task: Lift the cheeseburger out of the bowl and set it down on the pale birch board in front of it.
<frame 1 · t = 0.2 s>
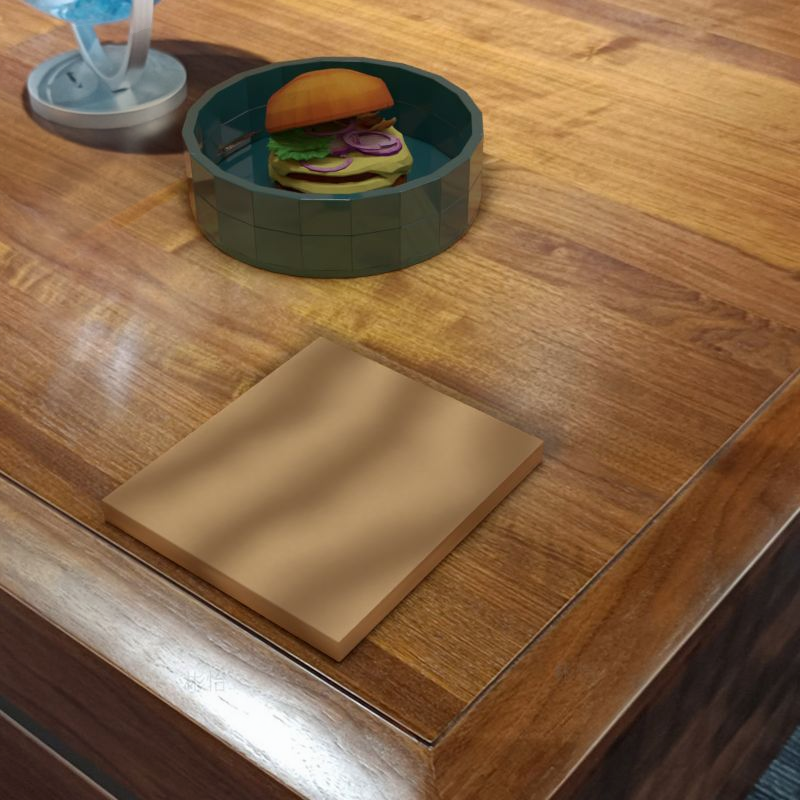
board: (329, 489, 74), on the table
bowl: (336, 197, 97), on the table
cheeseburger: (336, 192, 97), resting on bowl
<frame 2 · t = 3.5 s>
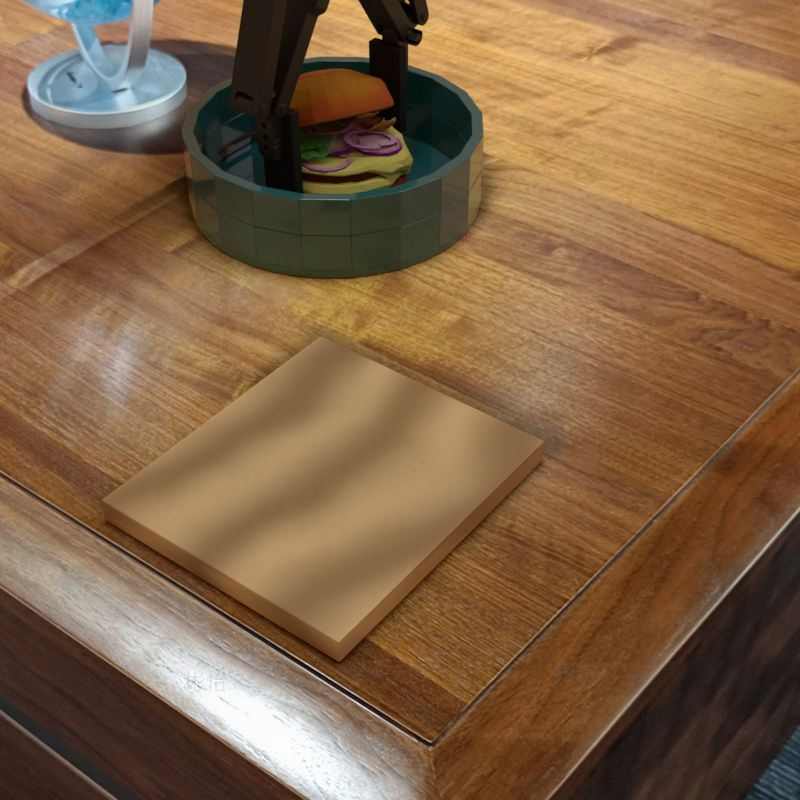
hand: (338, 159, 95), 3 cm above the table, tool pointing down, fingers closed on cheeseburger, 11 cm apart
cheeseburger: (336, 192, 97), resting on bowl, touching gripper
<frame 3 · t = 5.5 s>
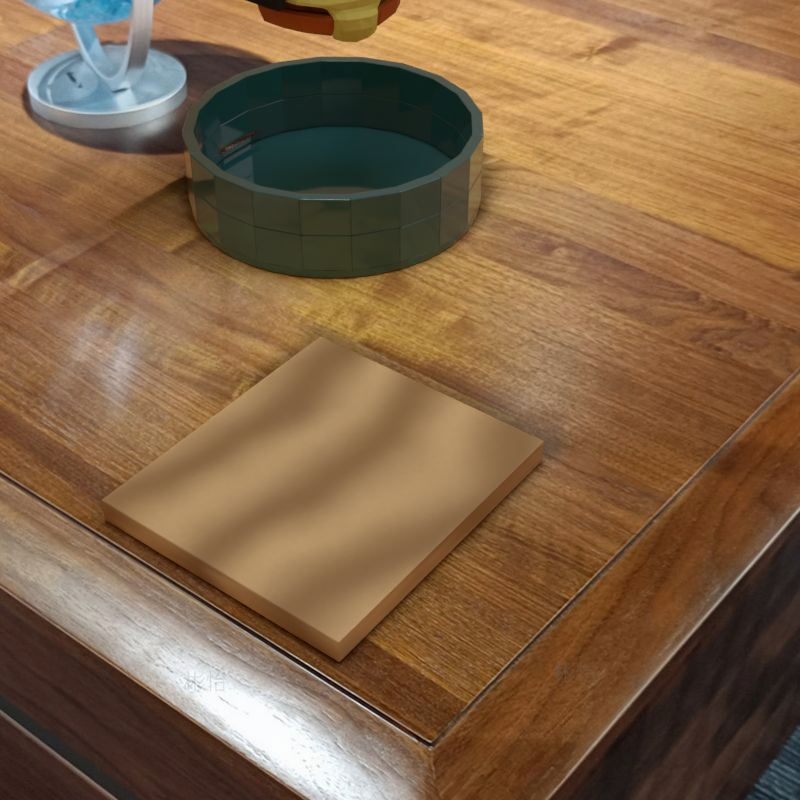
cheeseburger: (322, 14, 88), point 14 cm above the table, touching gripper
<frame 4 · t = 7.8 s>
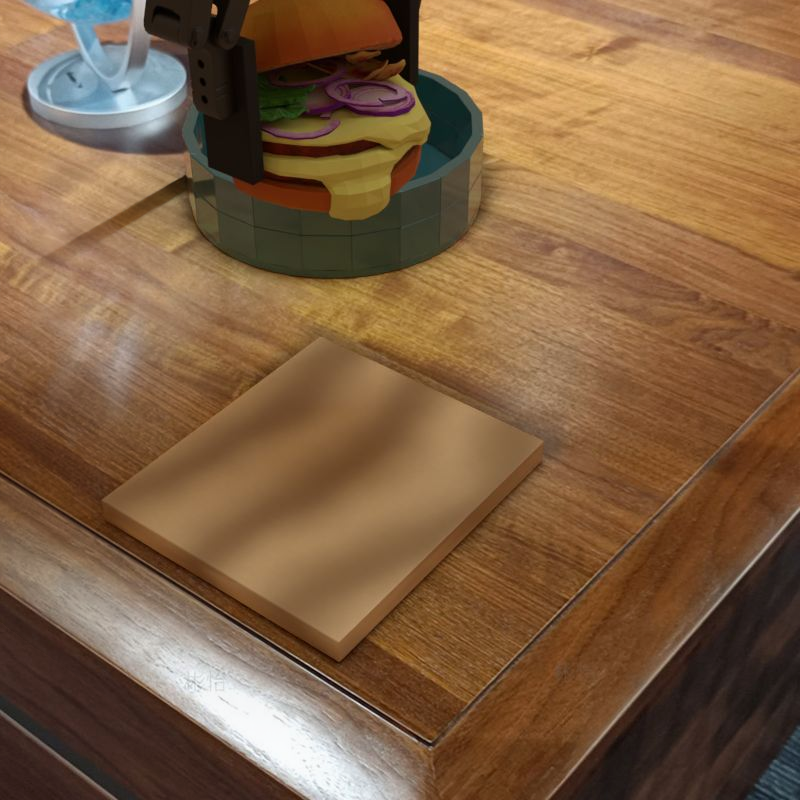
hand: (318, 123, 64), 20 cm above the table, tool pointing down, fingers closed on cheeseburger, 11 cm apart
cheeseburger: (315, 173, 65), point 17 cm above the table, touching gripper
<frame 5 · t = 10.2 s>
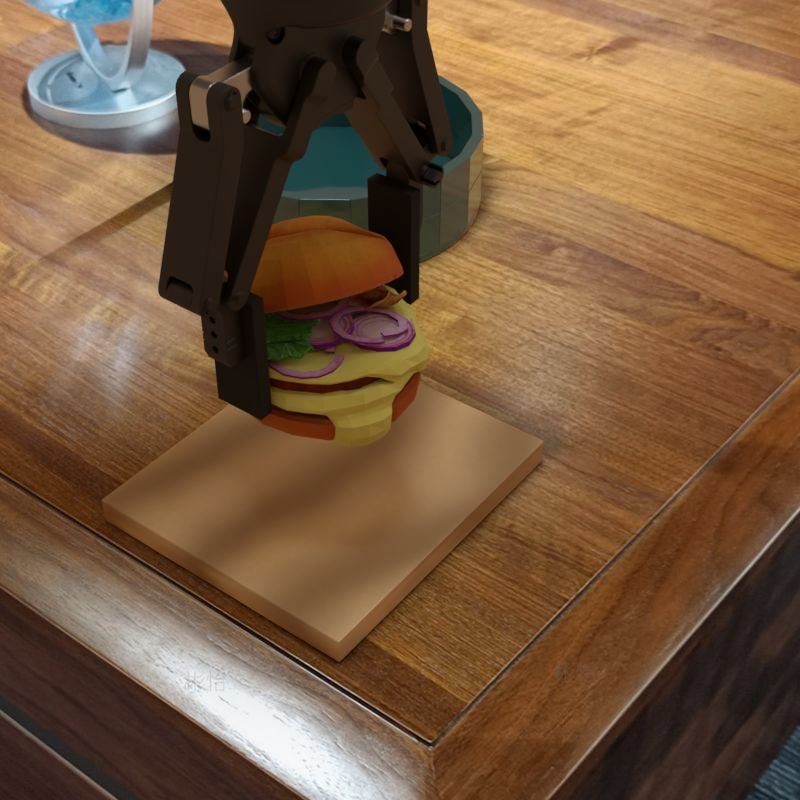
hand: (323, 346, 67), 10 cm above the table, tool pointing down, fingers closed on cheeseburger, 11 cm apart
cheeseburger: (321, 388, 69), point 7 cm above the table, touching gripper
when the fingers open (4 cm above the table, at t = 12.3 s): cheeseburger stays where it is, resting on board.
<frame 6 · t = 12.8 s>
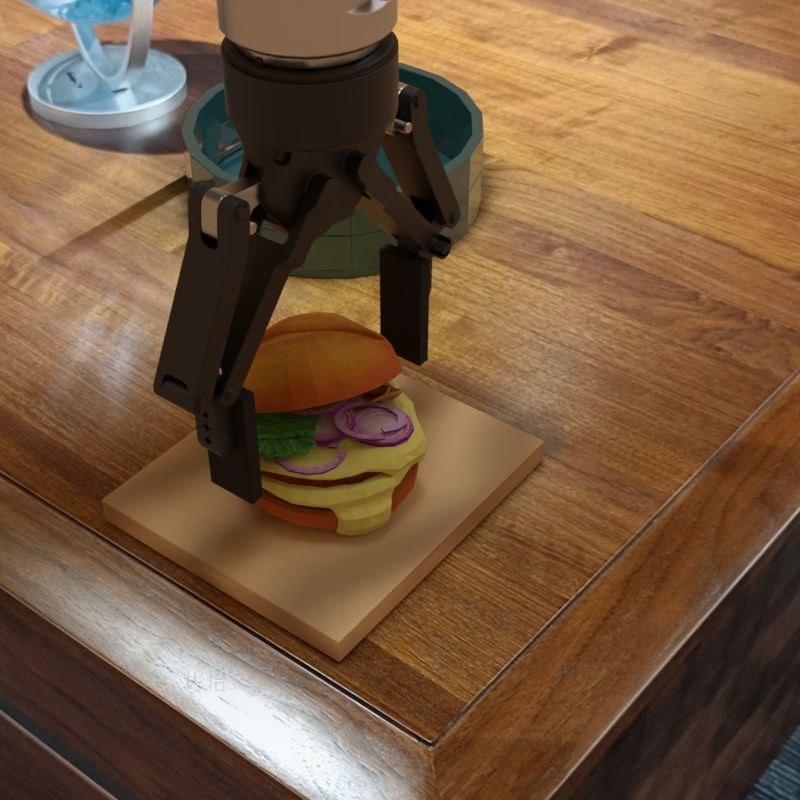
hand: (325, 418, 70), 5 cm above the table, tool pointing down, fingers open, 13 cm apart
cheeseburger: (324, 475, 72), point 1 cm above the table, touching board
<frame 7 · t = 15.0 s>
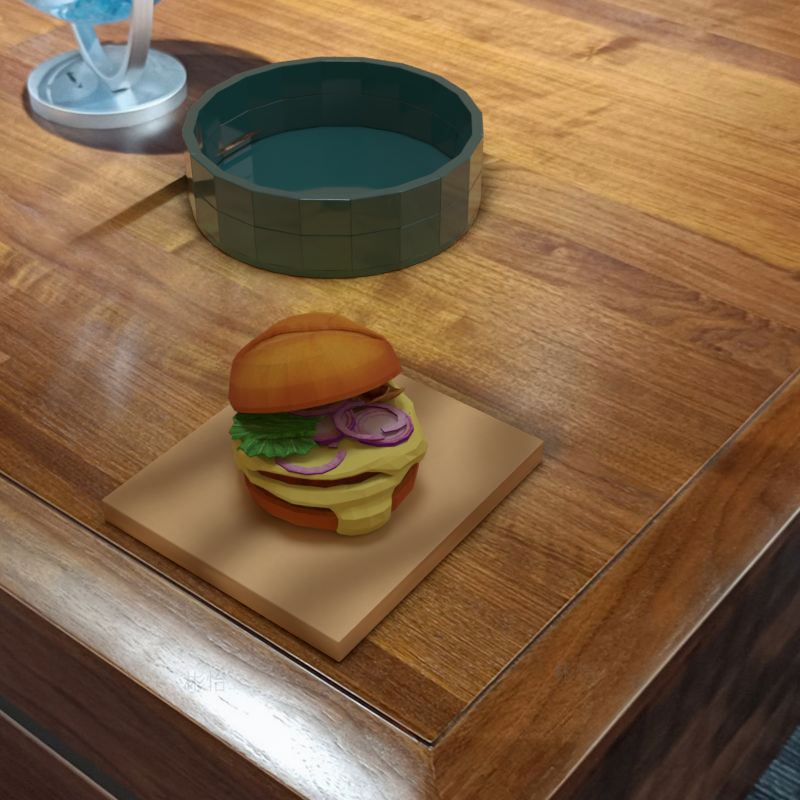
nothing on the table moved.
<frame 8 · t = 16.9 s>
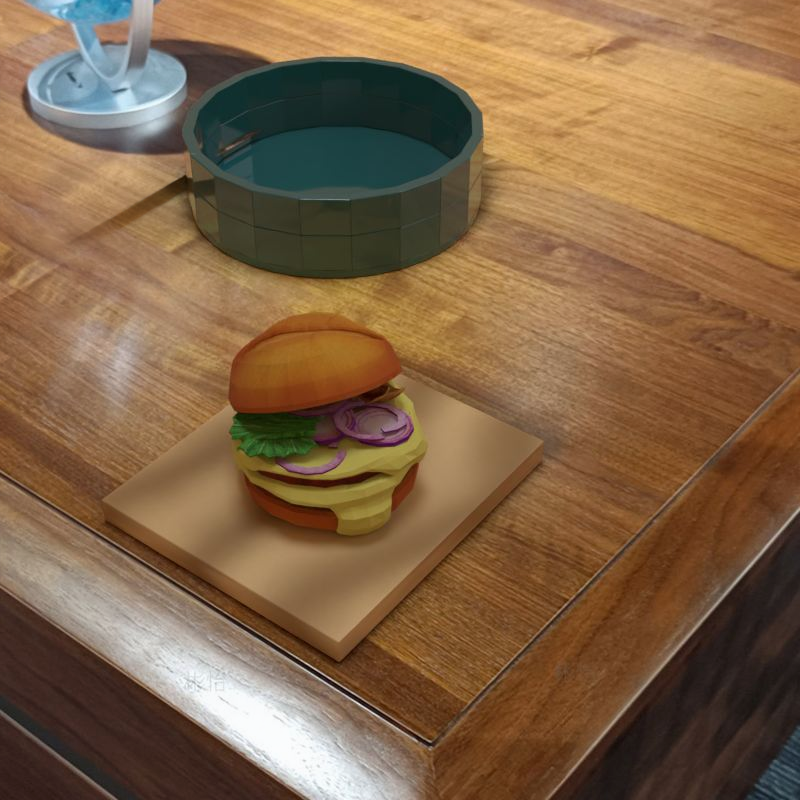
nothing on the table moved.
at the end: cheeseburger inside the target area on the board (0.3 cm from its centre), point 1.3 cm above the board's base; cheeseburger touching board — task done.
